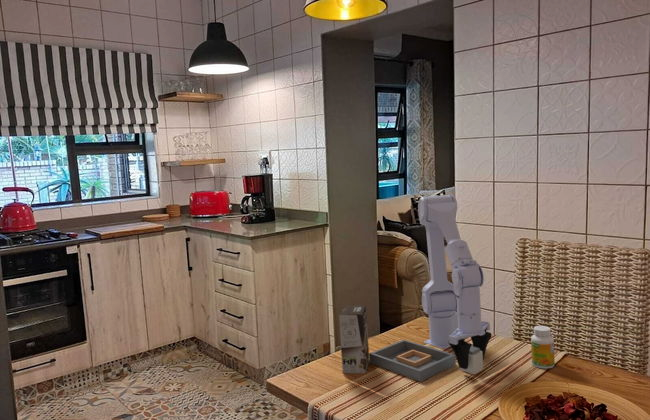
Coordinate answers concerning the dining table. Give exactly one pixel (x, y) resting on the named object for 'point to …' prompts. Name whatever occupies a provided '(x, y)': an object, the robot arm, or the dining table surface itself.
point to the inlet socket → (413, 352)
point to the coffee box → (354, 339)
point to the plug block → (474, 361)
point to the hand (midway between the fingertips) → (471, 363)
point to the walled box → (388, 360)
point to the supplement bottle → (542, 347)
